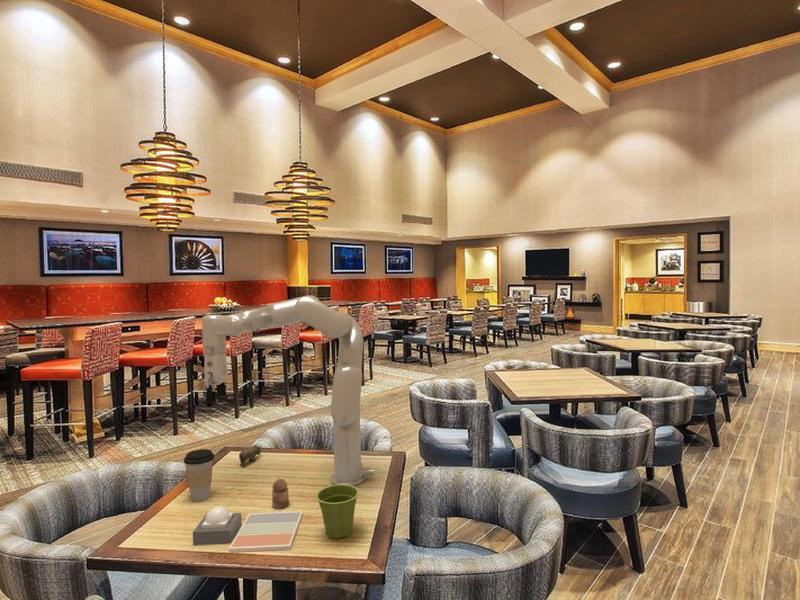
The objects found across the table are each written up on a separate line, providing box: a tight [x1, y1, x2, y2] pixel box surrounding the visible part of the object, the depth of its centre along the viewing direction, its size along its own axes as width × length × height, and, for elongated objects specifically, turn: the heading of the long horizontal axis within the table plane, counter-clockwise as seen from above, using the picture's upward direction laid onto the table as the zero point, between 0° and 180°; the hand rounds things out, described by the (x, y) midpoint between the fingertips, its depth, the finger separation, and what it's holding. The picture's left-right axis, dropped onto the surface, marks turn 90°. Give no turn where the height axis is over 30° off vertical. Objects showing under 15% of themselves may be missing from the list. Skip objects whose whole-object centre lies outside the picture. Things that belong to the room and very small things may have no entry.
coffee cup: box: [183, 448, 215, 503], centre depth 156 cm, size 9×9×15 cm
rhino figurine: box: [238, 444, 262, 468], centre depth 188 cm, size 4×14×6 cm, turn 161°
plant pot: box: [315, 484, 360, 540], centre depth 132 cm, size 12×12×11 cm
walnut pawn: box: [271, 478, 290, 510], centre depth 149 cm, size 5×5×8 cm
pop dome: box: [202, 505, 234, 529], centre depth 133 cm, size 6×6×6 cm
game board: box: [228, 510, 304, 553], centre depth 133 cm, size 16×19×1 cm
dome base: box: [192, 512, 243, 546], centre depth 133 cm, size 10×10×4 cm
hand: (216, 399), depth 164 cm, fingers open, 9 cm apart
